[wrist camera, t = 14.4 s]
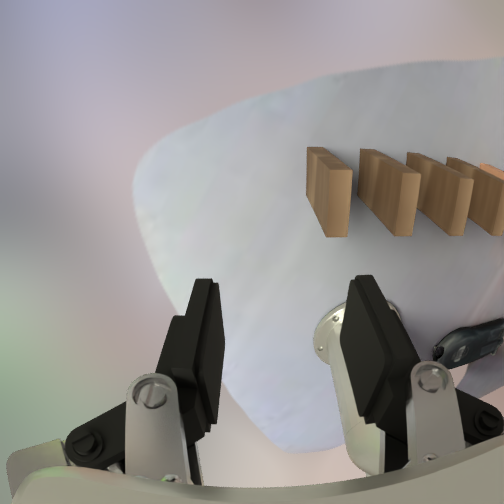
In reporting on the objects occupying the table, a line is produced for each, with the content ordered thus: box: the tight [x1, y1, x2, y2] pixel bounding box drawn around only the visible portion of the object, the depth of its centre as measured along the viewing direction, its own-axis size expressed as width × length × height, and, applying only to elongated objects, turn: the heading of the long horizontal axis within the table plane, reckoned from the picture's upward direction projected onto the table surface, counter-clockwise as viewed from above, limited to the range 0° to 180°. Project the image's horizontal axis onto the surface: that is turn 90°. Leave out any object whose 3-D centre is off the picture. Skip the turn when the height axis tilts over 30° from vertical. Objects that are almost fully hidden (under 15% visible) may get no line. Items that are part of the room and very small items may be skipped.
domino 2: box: [357, 149, 421, 236], centre depth 25 cm, size 2×5×10 cm, turn 2°
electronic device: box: [433, 319, 504, 369], centre depth 40 cm, size 9×6×15 cm
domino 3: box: [406, 152, 474, 236], centre depth 25 cm, size 2×5×10 cm, turn 2°
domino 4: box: [446, 157, 504, 236], centre depth 24 cm, size 2×5×10 cm, turn 3°
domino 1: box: [306, 147, 353, 237], centre depth 25 cm, size 2×5×10 cm, turn 2°
